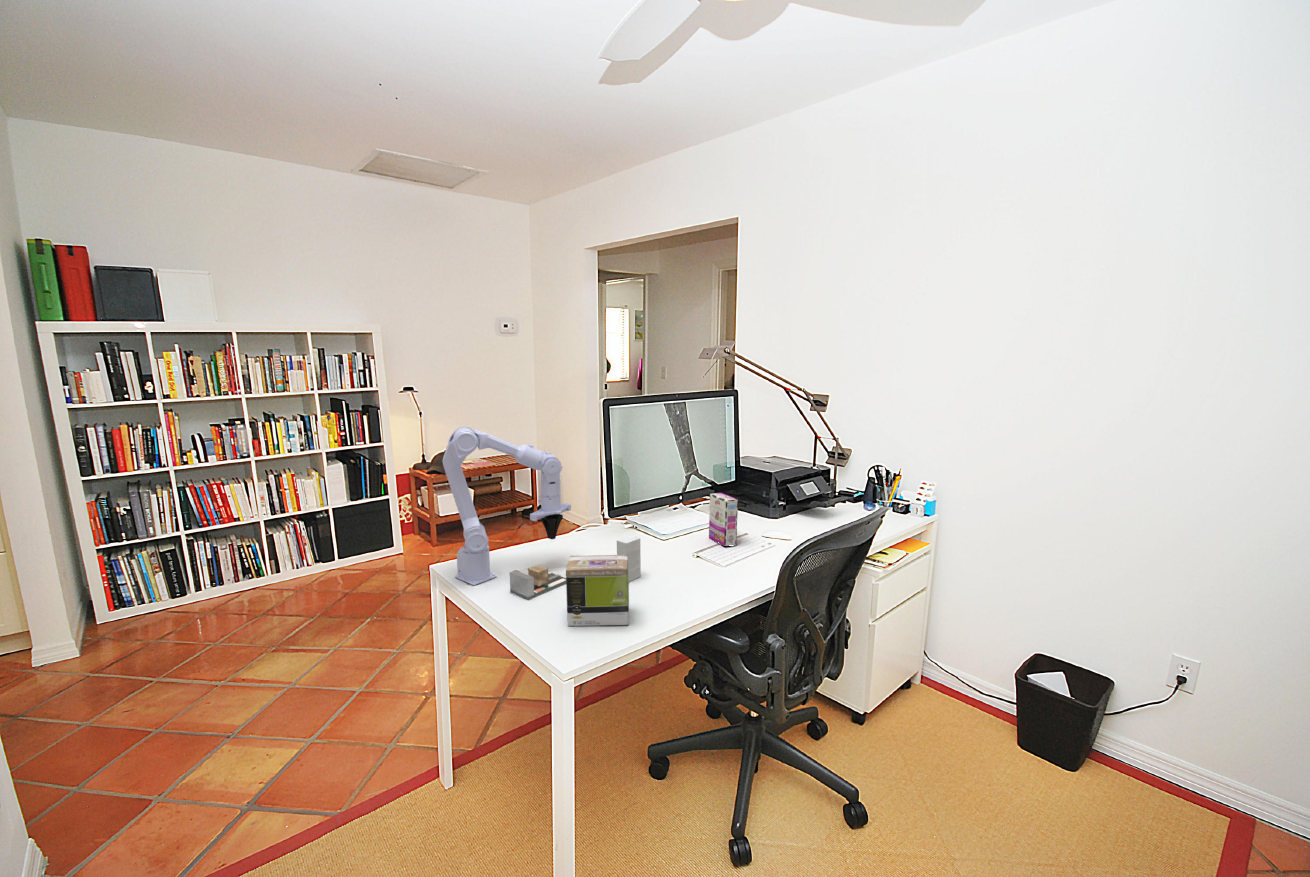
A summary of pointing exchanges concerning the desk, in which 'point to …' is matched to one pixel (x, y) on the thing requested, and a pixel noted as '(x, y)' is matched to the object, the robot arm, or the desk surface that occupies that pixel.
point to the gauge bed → (532, 584)
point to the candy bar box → (723, 519)
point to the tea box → (597, 590)
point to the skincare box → (631, 555)
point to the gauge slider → (539, 575)
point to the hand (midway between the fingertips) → (551, 538)
